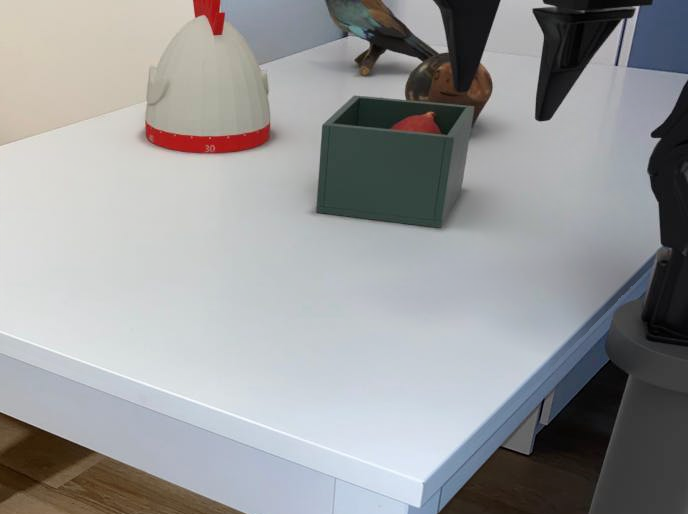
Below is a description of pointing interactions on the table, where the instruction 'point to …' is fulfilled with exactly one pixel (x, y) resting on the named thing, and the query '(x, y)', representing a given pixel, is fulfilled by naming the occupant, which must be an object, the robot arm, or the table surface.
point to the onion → (418, 124)
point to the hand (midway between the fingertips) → (500, 105)
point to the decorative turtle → (447, 85)
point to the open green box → (392, 161)
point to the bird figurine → (376, 30)
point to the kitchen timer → (207, 89)
